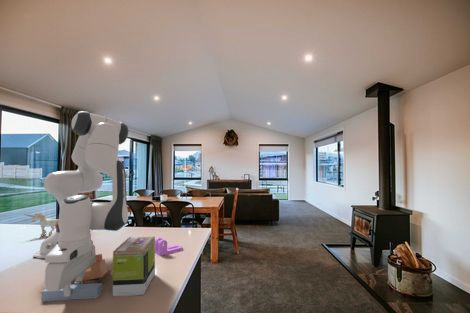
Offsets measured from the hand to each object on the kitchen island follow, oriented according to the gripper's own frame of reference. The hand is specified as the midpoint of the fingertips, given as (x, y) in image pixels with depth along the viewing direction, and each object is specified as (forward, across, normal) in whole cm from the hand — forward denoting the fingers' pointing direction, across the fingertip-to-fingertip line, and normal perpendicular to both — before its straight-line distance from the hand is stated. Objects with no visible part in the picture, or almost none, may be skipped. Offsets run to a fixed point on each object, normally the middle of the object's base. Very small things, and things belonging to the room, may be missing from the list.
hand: (73, 291), depth 76 cm
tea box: (+2, -7, +17) cm, 18 cm away
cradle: (+2, -10, -2) cm, 10 cm away
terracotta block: (+1, -10, -1) cm, 10 cm away
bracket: (+2, -40, +22) cm, 46 cm away
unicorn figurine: (+2, -66, -57) cm, 87 cm away
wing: (+2, 0, 0) cm, 2 cm away
